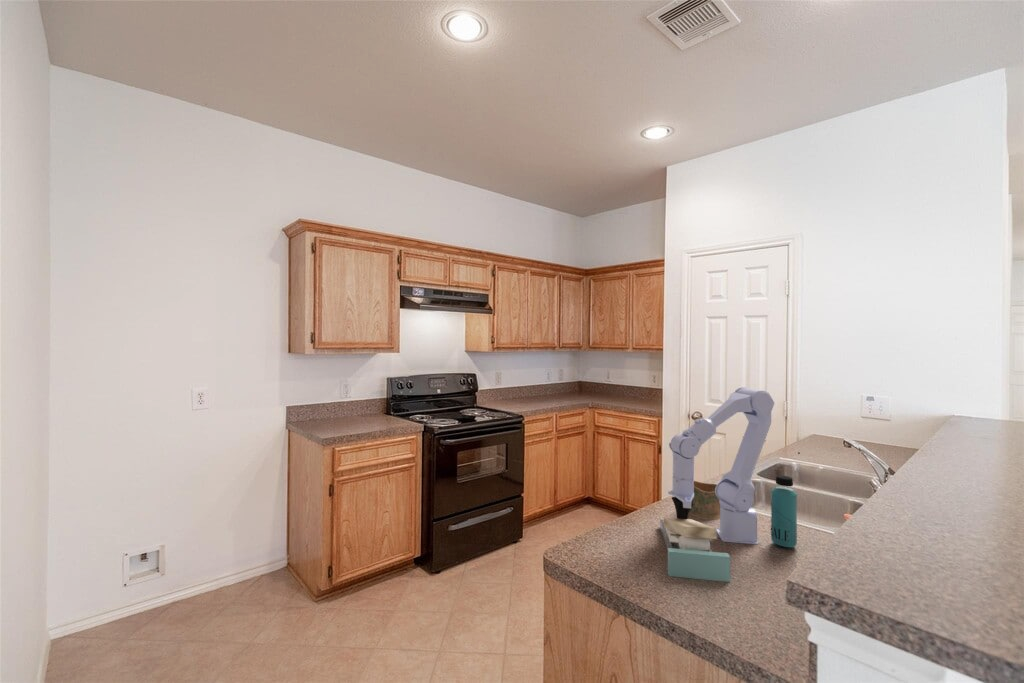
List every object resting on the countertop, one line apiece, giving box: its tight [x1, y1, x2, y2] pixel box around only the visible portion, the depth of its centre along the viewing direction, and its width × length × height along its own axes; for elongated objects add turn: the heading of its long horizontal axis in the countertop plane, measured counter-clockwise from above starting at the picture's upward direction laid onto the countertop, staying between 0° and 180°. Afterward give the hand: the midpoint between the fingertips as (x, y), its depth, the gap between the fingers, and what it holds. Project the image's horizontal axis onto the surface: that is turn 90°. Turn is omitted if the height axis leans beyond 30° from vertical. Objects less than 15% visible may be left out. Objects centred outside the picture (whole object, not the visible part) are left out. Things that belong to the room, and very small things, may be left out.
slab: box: [663, 517, 718, 540], centre depth 123 cm, size 8×16×2 cm, turn 179°
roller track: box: [659, 519, 713, 552], centre depth 125 cm, size 11×27×4 cm, turn 169°
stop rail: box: [667, 548, 731, 583], centre depth 111 cm, size 14×2×6 cm, turn 79°
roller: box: [678, 536, 711, 551], centre depth 117 cm, size 7×4×4 cm, turn 111°
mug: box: [688, 480, 720, 520], centre depth 151 cm, size 12×18×12 cm, turn 73°
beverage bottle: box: [770, 475, 798, 548], centre depth 127 cm, size 6×7×20 cm
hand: (682, 523), depth 131 cm, fingers closed, pressing on slab
